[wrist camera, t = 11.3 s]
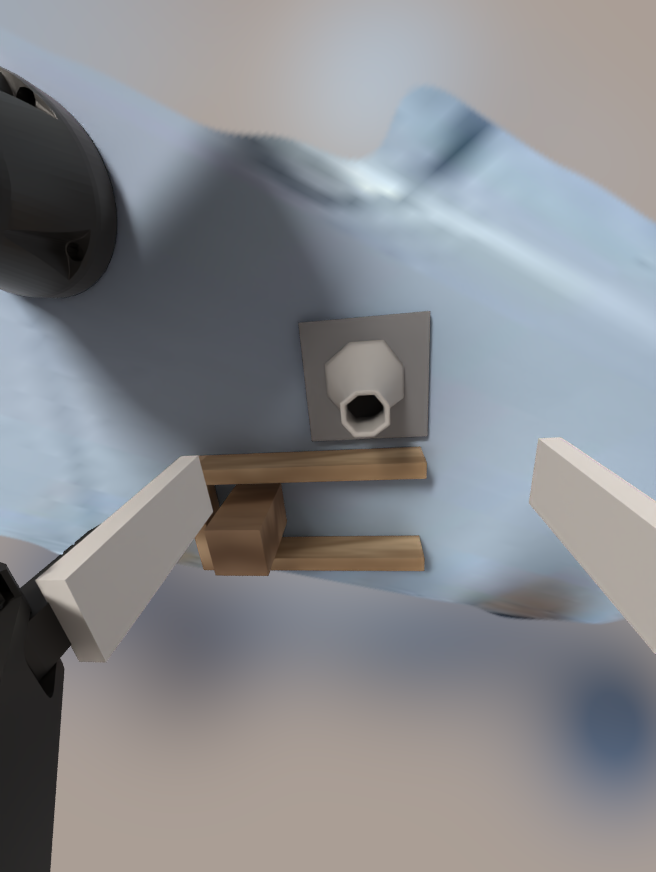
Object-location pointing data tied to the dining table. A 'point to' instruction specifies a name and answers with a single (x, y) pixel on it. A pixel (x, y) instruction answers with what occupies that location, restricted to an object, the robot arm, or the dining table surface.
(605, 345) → the dining table surface
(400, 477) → the rack
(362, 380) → the flask
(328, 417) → the coaster
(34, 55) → the dining table surface
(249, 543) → the walnut block
